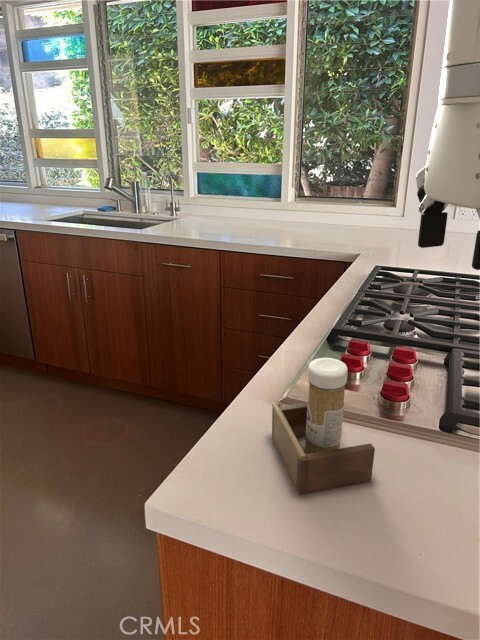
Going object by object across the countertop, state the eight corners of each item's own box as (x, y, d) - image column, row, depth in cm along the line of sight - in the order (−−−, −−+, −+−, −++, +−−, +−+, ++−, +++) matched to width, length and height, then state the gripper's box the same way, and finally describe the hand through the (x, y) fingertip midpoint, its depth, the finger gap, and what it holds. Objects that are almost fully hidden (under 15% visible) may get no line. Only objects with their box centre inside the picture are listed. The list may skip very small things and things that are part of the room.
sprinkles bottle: (298, 451, 60) (301, 359, 55) (329, 443, 62) (335, 353, 57) (314, 474, 56) (319, 377, 51) (347, 465, 58) (355, 370, 53)
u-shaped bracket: (333, 428, 65) (336, 394, 63) (371, 482, 55) (375, 444, 53) (271, 438, 63) (272, 403, 61) (299, 496, 53) (300, 456, 51)
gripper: (592, 77, 38) (547, 274, 45) (457, 92, 54) (439, 237, 61) (514, 79, 37) (479, 283, 44) (399, 94, 53) (386, 242, 59)
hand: (456, 256), depth 52 cm, fingers open, 9 cm apart
